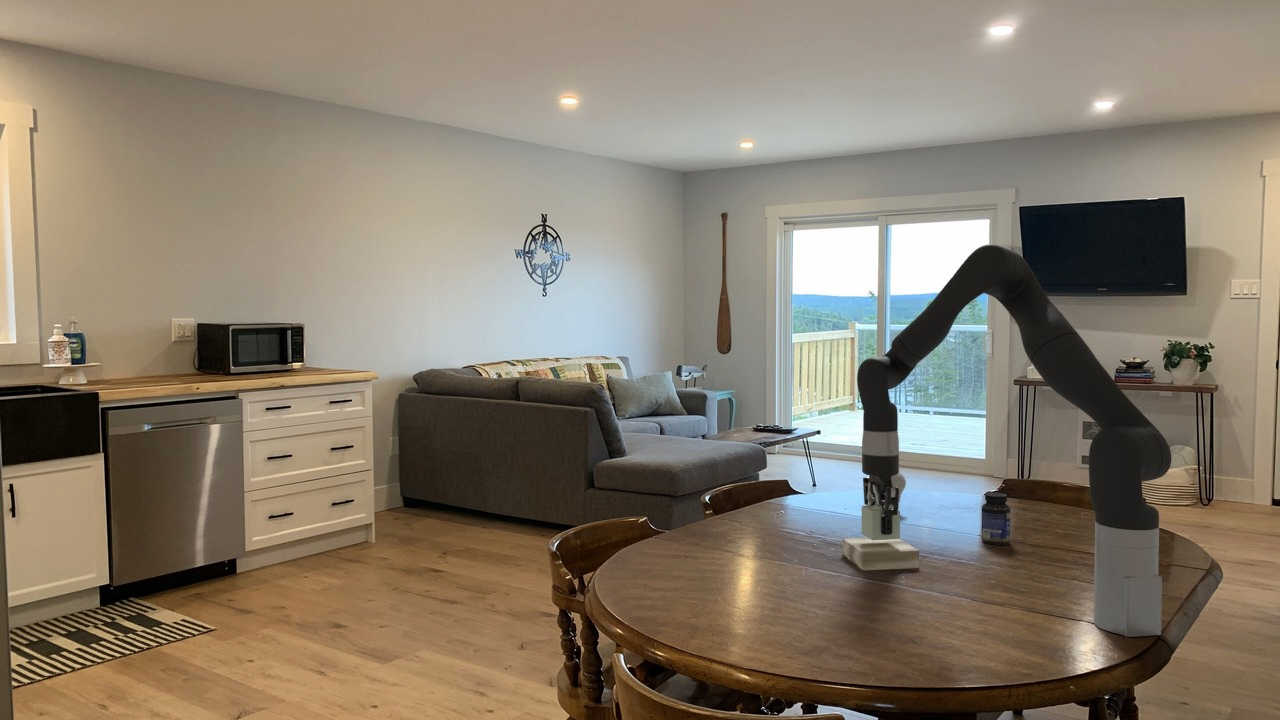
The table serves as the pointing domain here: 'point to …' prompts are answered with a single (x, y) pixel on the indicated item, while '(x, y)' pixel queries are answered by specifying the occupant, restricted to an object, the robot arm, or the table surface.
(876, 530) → the sage block
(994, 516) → the pill bottle
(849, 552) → the birch block
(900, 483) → the lightbulb
